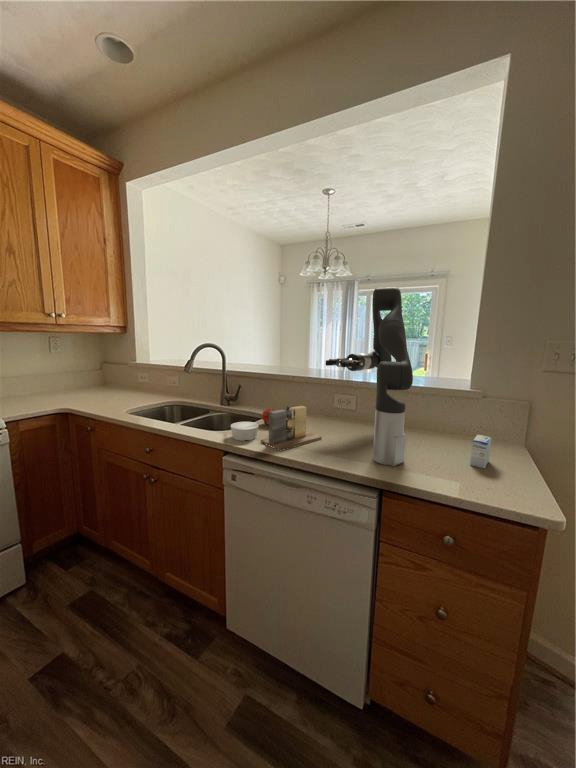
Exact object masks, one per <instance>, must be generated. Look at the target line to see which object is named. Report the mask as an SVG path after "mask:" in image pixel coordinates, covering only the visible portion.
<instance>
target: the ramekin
mask: <svg viewBox="0 0 576 768" xmlns="http://www.w3.org/2000/svg"><path fill="white" fill-rule="evenodd" d="M230 429H231V435H232V438H233V439H234V440H235V439H236V440H235V441H238V440H249V441H253V440H255V439H256V438H257V435H258V430H259V424H258V423H256V422H253V421H238V422H233V423H231V424H230ZM254 438H255V439H254ZM252 439H253V440H252Z"/></svg>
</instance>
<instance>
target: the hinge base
mask: <svg viewBox="0 0 576 768" xmlns="http://www.w3.org/2000/svg"><path fill="white" fill-rule="evenodd" d="M289 418H292V409H290V405H287V406H286V408H282V409H277V410H276V409H275V411H270V412H269V424H268V437H267V438H262V439H260V443H261V442H263V443H265V444H267V445H266V446H268V445H270V446H272V447H274V448H273V449H275V448H276V449H275V450H277V449H279V450H283V449H286V450H288V449H287V448H289V449H292V448H291V447H293V448H295V447H294V446H296V447H299V446H298V445H300V446H302V444H303V445H307V444H310V443H312V442H317V441H319V440H322V438H323V437H322V436H320V435H318V434H315V433H312V432H309V431H306V436H304V437H301V438H297V439H293V438H292V431H290V430H286V419H289ZM309 442H310V443H309ZM263 443H262V444H263ZM306 443H307V444H306ZM265 444H264V445H265ZM270 446H269V447H270ZM272 447H271V448H272ZM279 450H278V451H279ZM283 451H284V450H283Z"/></svg>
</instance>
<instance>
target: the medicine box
mask: <svg viewBox="0 0 576 768" xmlns="http://www.w3.org/2000/svg"><path fill="white" fill-rule="evenodd" d="M491 447H492V437H491V436H486V435H483V434H482V435H481V434H476V436H475V437H474V439H473V440H472V444H471V453H470V462H469V465H470V466H473V467H478V468H480V469H486V467H487V465H488V463H489V461H490V454H491V449H492V448H491Z"/></svg>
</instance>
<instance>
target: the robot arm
mask: <svg viewBox="0 0 576 768" xmlns="http://www.w3.org/2000/svg"><path fill="white" fill-rule="evenodd" d="M371 301H372V303H371V304H372V324H373V340H372V343H373V345H372V347H373V351H371V352H368V353H364V352H363V353H361V352H360V353H359V352H358V353H350V354H348V355H347V356H346V357H342V358H339V357H337V358H329V359H327V360H325V366H328V367H329V366H336V367H339V368H340V367H341V368H347V370H348V371H351V372H359V371H365V370H373V369H375V368H377V369H376V395H375V396H376V398H375V414H374V427H373V428H374V430H373V444H372V445H373V446H372V460H373V461H374V462H376V463H378V464H381V465H385V466H392V467H396V466H398V465H400V464H403V463H404V462H405V452H406V437H407V435H406V433H404V428H405V417H406V403H405V402H403V401H402V400H400V399H397V398H395V397H392V396H391V395H389V394H388V392H387V391H407V390H410V389H411V387H412V386H413V381H414V374H413V368H412V367H413V366H412V364H411V360H410V355H409V351H408V345H407V337H406V336H407V335H406V328H405V323H404V317H403V309H402V308H403V307H402V305H403V304H402V301H403V300H402V292H401V289H400V288H399V287H396V286H388V287H376V288H374V290H373V293H372V300H371ZM382 311H383V312H386V311H388V312H389V313H388V314H387V315H386V316H385V317H383V319H382V317H381V312H382ZM392 357H393V358H392ZM392 359H394V360H395V361H393V360H392Z"/></svg>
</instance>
